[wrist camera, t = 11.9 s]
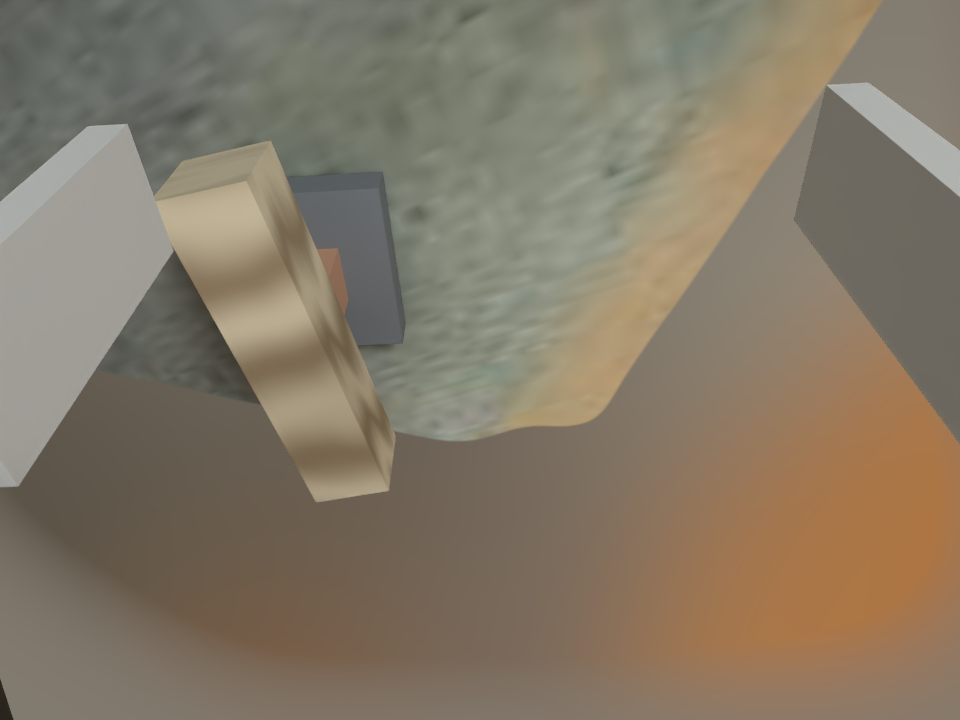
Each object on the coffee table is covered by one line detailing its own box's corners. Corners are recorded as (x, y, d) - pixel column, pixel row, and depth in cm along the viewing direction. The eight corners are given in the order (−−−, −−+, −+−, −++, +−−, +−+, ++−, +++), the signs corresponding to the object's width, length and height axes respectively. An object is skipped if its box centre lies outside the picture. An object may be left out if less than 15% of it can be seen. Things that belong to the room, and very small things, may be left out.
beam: (395, 436, 51) (388, 490, 47) (328, 448, 51) (316, 502, 47) (270, 140, 37) (246, 180, 33) (182, 161, 38) (148, 203, 34)
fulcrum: (229, 180, 47) (193, 236, 41) (382, 171, 46) (368, 226, 40) (273, 330, 54) (248, 395, 48) (405, 323, 54) (396, 388, 48)
